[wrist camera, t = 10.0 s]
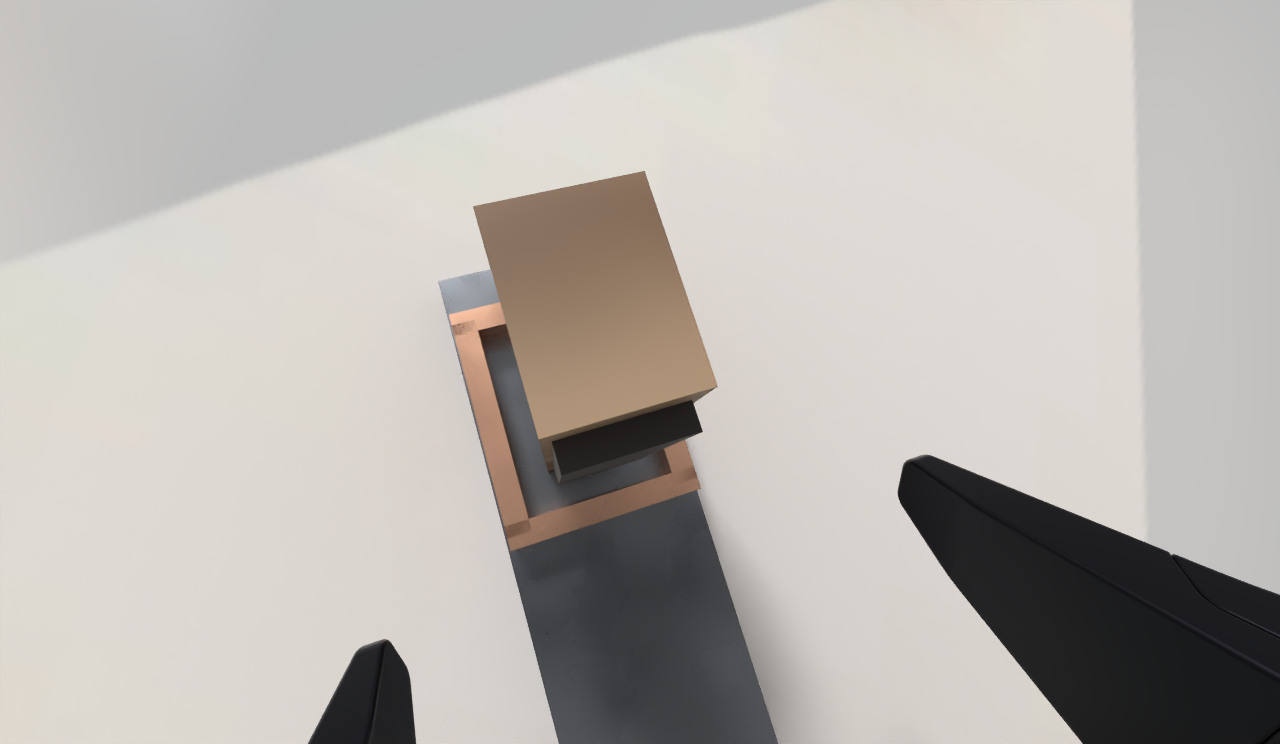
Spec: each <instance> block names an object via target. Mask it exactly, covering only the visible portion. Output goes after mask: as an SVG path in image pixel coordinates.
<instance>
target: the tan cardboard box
mask: <svg viewBox="0 0 1280 744" xmlns="http://www.w3.org/2000/svg"><path fill="white" fill-rule="evenodd" d="M473 208H474V211H475V215H476V218H477V222H478V226H479V229H480V233H481V236H482V240H483V243H484V247H485V250H486V254H487V258H488V261H489V265H490V268H491V272H492V275H493V279H494V283H495V286H496V290H497V293H498V297H499V300H500V304H501V307H502V311H503V315H504V318H505V322H506V325H507V329H508V332H509V336H510V339H511V343H512V347H513V350H514V354H515V357H516V361H517V364H518V368H519V371H520V375H521V379H522V382H523V386H524V389H525V393H526V396H527V400H528V403H529V407H530V411H531V414H532V418H533V421H534V425H535V428H536V432H537V435H538V439H539V442H540V446H541V449H542V453H543V456H544V460H545V463H546V466H547V470H548V472H550V471H553V470H555V474H556V477H557V481H558V484H559V485H560V484H563V483H566V482H569V481H573V480H576V479H579V478H582V477H585V476H589V475H592V474H595V473H598V472H601V471H605V470H608V469H611V468H614V467H617V466H620V465H624V464H627V463H630V462H633V461H636V460H639V459H642V458H644V457H646V456H648V455H651V454H653V453H655V452H658V451H660V450H662V449H664V448H667V447H669V446H671V445H674V444H676V443H678V442H680V441H683V440H685V439H687V438H690V437H692V436H694V435H696V434H699V433H701V432H703V431H702V428H701V425H700V422H699V419H698V416H697V413H696V410H695V407H694V404H693V403H694V402H695V401H697V400H698V399H700V398H701V397H703V396H704V395H706V394H707V393H709V392H710V391H712V390H713V389H715V388H716V387H718V386H717V383H716V380H715V377H714V374H713V371H712V368H711V365H710V362H709V359H708V356H707V354H706V351H705V348H704V345H703V342H702V339H701V336H700V333H699V330H698V327H697V324H696V321H695V318H694V315H693V312H692V309H691V306H690V304H689V301H688V298H687V295H686V292H685V289H684V286H683V283H682V280H681V277H680V274H679V271H678V268H677V265H676V262H675V259H674V256H673V254H672V251H671V248H670V245H669V242H668V239H667V236H666V233H665V230H664V227H663V224H662V221H661V218H660V215H659V212H658V209H657V206H656V203H655V201H654V198H653V195H652V192H651V189H650V186H649V183H648V180H647V177H646V174H645V171H642V172H638V173H633V174H628V175H623V176H618V177H613V178H609V179H604V180H599V181H594V182H589V183H584V184H580V185H575V186H570V187H565V188H560V189H555V190H550V191H546V192H541V193H536V194H531V195H526V196H521V197H517V198H512V199H507V200H502V201H497V202H492V203H488V204H483V205H478V206H473Z"/></svg>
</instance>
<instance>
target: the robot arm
mask: <svg viewBox="0 0 1280 744" xmlns="http://www.w3.org/2000/svg"><path fill="white" fill-rule="evenodd" d="M898 497H899V501H900V503H901V505H902V507H903V508H904V510H905V511H906V513H907V514H908V516H909V517H910V519H911V520H912V522H913V523H914V525H915V526H916V528H917V529H918V531H919V532H920V534H921V535H922V537H923V539H924V540H925V542H926V543H927V545H928V546H929V548H930V549H931V551H932V552H933V554H934V555H935V557H936V558H937V560H938V561H939V563H940V564H941V566H942V567H943V569H944V570H945V572H946V573H947V574H948V576H949V577H950V579H951V580H952V581H953V583H954V584H955V585H956V586H957V588H958V589H959V590H960V592H961V593H962V594H963V595H964V596H965V598H966V599H967V600H968V601H969V603H970V604H971V605H972V606H973V608H974V609H975V610H976V611H977V613H978V614H979V615H980V616H981V618H982V619H983V620H984V621H985V623H986V624H987V625H988V626H989V628H990V629H991V630H992V631H993V633H994V634H995V635H996V636H997V638H998V639H999V640H1000V641H1001V643H1002V644H1003V645H1004V646H1005V647H1006V649H1007V650H1008V651H1009V652H1010V654H1011V655H1012V656H1013V657H1014V659H1015V660H1016V661H1017V662H1018V664H1019V665H1020V666H1021V667H1022V669H1023V670H1024V671H1025V672H1026V674H1027V675H1028V676H1029V677H1030V679H1031V680H1032V681H1033V682H1034V684H1035V685H1036V686H1037V687H1038V689H1039V690H1040V691H1041V692H1042V693H1043V695H1044V696H1045V697H1046V698H1047V700H1048V701H1049V702H1050V703H1051V705H1052V706H1053V707H1054V708H1055V710H1056V711H1057V712H1058V713H1059V715H1060V716H1061V717H1062V718H1063V720H1064V721H1065V722H1066V723H1067V725H1068V726H1069V727H1070V728H1071V730H1072V731H1073V732H1074V733H1075V735H1076V736H1077V737H1078V738H1079V740H1080V741H1081V742H1082V743H1083V744H1280V595H1279V594H1276V593H1273V592H1271V591H1268V590H1265V589H1262V588H1259V587H1257V586H1254V585H1251V584H1248V583H1246V582H1243V581H1241V580H1238V579H1235V578H1233V577H1230V576H1228V575H1225V574H1223V573H1220V572H1217V571H1215V570H1213V569H1210V568H1207V567H1205V566H1202V565H1200V564H1197V563H1195V562H1193V561H1190V560H1188V559H1185V558H1183V557H1180V556H1178V555H1175V554H1173V555H1170V553H1169V552H1167V551H1165V550H1163V549H1160V548H1158V547H1155V546H1153V545H1150V544H1148V543H1145V542H1143V541H1140V540H1138V539H1136V538H1133V537H1131V536H1128V535H1126V534H1123V533H1121V532H1118V531H1116V530H1113V529H1111V528H1108V527H1106V526H1104V525H1101V524H1099V523H1096V522H1094V521H1091V520H1089V519H1086V518H1084V517H1081V516H1079V515H1076V514H1074V513H1072V512H1069V511H1067V510H1064V509H1062V508H1059V507H1057V506H1054V505H1052V504H1049V503H1047V502H1044V501H1042V500H1040V499H1037V498H1035V497H1032V496H1030V495H1027V494H1025V493H1022V492H1020V491H1017V490H1015V489H1013V488H1010V487H1008V486H1005V485H1003V484H1000V483H998V482H995V481H993V480H990V479H988V478H985V477H983V476H981V475H978V474H976V473H973V472H971V471H968V470H966V469H963V468H961V467H958V466H956V465H953V464H951V463H949V462H946V461H944V460H941V459H939V458H936V457H934V456H931V455H921V456H918V457H915V458H912V459H909V460H907V461H906V462H905V463H904V465H903V468H902V473H901V478H900V482H899V487H898ZM308 744H416V737H415V726H414V715H413V704H412V693H411V682H410V676H409V672H408V669H407V667H406V665H405V663H404V662H403V660H402V659H401V657H400V656H399V654H398V653H397V651H396V649H395V648H394V646H393V645H392V643H391V642H390V641H389V640H386V639H383V640H380V641H377V642H374V643H371V644H368V645H365V646H363V647H361V648H359V649H358V650H357V651H356V653H355V654H354V656H353V658H352V660H351V662H350V664H349V666H348V668H347V670H346V671H345V673H344V675H343V677H342V679H341V681H340V683H339V685H338V687H337V689H336V691H335V693H334V695H333V696H332V698H331V700H330V702H329V704H328V706H327V708H326V710H325V712H324V714H323V716H322V718H321V719H320V721H319V723H318V725H317V727H316V729H315V731H314V733H313V735H312V737H311V739H310V741H309V743H308Z"/></svg>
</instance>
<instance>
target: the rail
mask: <svg viewBox="0 0 1280 744" xmlns="http://www.w3.org/2000/svg"><path fill="white" fill-rule="evenodd" d="M438 282H439V286H440V290H441V294H442V297H443V301H444V305H445V309H446V313H447V317H448V320H449V324H450V328H451V332H452V336H453V340H454V343H455V347H456V351H457V355H458V359H459V363H460V366H461V370H462V374H463V378H464V382H465V386H466V389H467V393H468V397H469V401H470V405H471V409H472V412H473V416H474V420H475V424H476V428H477V431H478V435H479V439H480V443H481V447H482V451H483V454H484V458H485V462H486V466H487V470H488V474H489V477H490V481H491V485H492V489H493V493H494V497H495V500H496V504H497V508H498V512H499V516H500V520H501V523H502V527H503V531H504V535H505V539H506V543H507V546H508V550H509V554H510V558H511V562H512V566H513V569H514V573H515V577H516V581H517V585H518V588H519V592H520V596H521V600H522V604H523V608H524V611H525V615H526V619H527V623H528V627H529V631H530V634H531V638H532V642H533V646H534V650H535V654H536V657H537V661H538V665H539V669H540V673H541V677H542V680H543V684H544V688H545V692H546V696H547V700H548V703H549V707H550V711H551V715H552V719H553V722H554V726H555V730H556V734H557V738H558V742H559V744H778V742H777V739H776V736H775V733H774V730H773V727H772V724H771V720H770V717H769V714H768V711H767V708H766V705H765V702H764V699H763V696H762V692H761V689H760V686H759V683H758V680H757V677H756V674H755V671H754V668H753V664H752V661H751V658H750V655H749V652H748V649H747V646H746V643H745V640H744V636H743V633H742V630H741V627H740V624H739V621H738V618H737V615H736V611H735V608H734V605H733V602H732V599H731V596H730V593H729V590H728V587H727V583H726V580H725V577H724V574H723V571H722V568H721V565H720V562H719V559H718V555H717V552H716V549H715V546H714V543H713V540H712V537H711V534H710V530H709V527H708V524H707V521H706V518H705V515H704V512H703V509H702V506H701V502H700V499H699V496H698V493H697V490H698V489H701V488H700V485H699V482H698V478H697V475H696V472H695V469H694V466H693V463H692V460H691V457H690V454H689V451H688V447H687V444H686V441H685V440H683V441H680V442H678V443H676V444H674V445H671V446H669V447H667V448H664V449H662V450H660V451H658V452H655V453H653V454H651V455H648V456H646V457H644V458H642V459H639V460H636V461H633V462H630V463H627V464H624V465H620V466H617V467H614V468H611V469H608V470H605V471H601V472H598V473H595V474H592V475H589V476H585V477H582V478H579V479H576V480H573V481H569V482H566V483H563V484H560V485H559V484H558V481H557V477H556V474H555V470H553V471H550V472H548V470H547V466H546V463H545V460H544V456H543V453H542V449H541V446H540V442H539V439H538V435H537V432H536V428H535V425H534V421H533V418H532V414H531V411H530V407H529V403H528V400H527V396H526V393H525V389H524V386H523V382H522V379H521V375H520V371H519V368H518V364H517V361H516V357H515V354H514V350H513V347H512V343H511V339H510V336H509V332H508V329H507V325H506V322H505V318H504V315H503V311H502V307H501V304H500V300H499V297H498V293H497V290H496V286H495V283H494V279H493V275H492V272H491V269H490V270H486V271H482V272H477V273H473V274H468V275H464V276H460V277H455V278H451V279H447V280H442V281H438Z"/></svg>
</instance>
